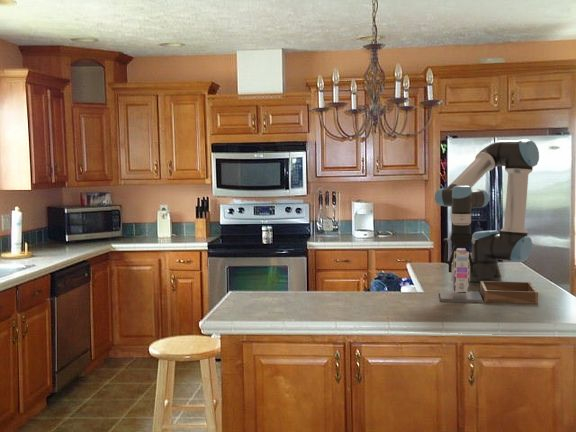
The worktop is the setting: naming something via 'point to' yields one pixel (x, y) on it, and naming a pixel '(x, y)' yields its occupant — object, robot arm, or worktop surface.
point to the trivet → (460, 296)
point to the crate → (508, 292)
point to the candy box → (461, 271)
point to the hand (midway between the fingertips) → (460, 280)
